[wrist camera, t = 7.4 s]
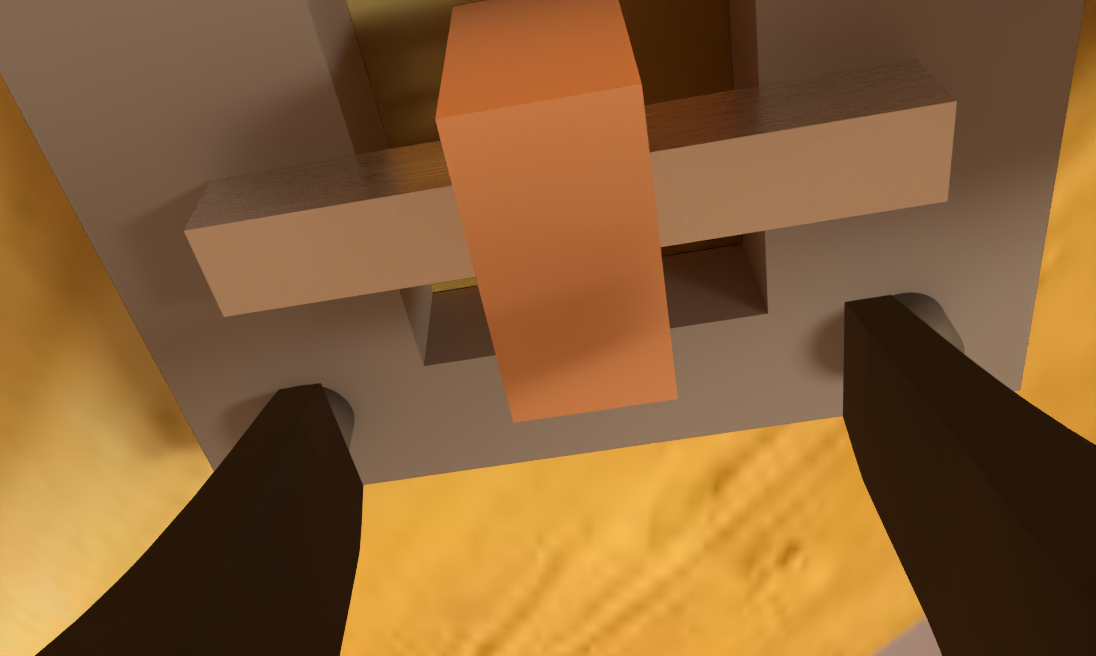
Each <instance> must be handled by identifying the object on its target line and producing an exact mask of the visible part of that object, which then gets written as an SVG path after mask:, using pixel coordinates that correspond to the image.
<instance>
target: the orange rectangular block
mask: <svg viewBox="0 0 1096 656" xmlns="http://www.w3.org/2000/svg"><path fill="white" fill-rule="evenodd" d="M435 121H436V125H437V128H438V132H439V136H440V140H441V144H442V148H443V152H444V156H445V160H446V163H447V167H448V171H449V175H450V179H451V183H452V187H453V191H454V195H455V198H456V202H457V206H458V210H459V214H460V218H461V222H462V226H463V230H464V233H465V237H466V241H467V245H468V249H469V253H470V257H471V261H472V264H473V268H474V272H475V276H476V280H477V284H478V288H479V292H480V296H481V299H482V303H483V307H484V311H485V315H486V319H487V323H488V327H489V331H490V334H491V338H492V342H493V346H494V350H495V354H496V358H497V362H498V365H499V369H500V373H501V377H502V381H503V385H504V389H505V393H506V397H507V400H508V404H509V408H510V412H511V416H512V420H513V423H517V422H523V421H530V420H537V419H544V418H551V417H558V416H565V415H572V414H579V413H585V412H592V411H599V410H606V409H613V408H620V407H627V406H634V405H640V404H647V403H654V402H661V401H668V400H675V399H678V395H677V386H676V378H675V369H674V360H673V351H672V343H671V334H670V325H669V317H668V308H667V299H666V290H665V282H664V273H663V264H662V256H661V247H660V238H659V230H658V221H657V212H656V203H655V195H654V186H653V177H652V169H651V160H650V151H649V142H648V134H647V125H646V116H645V108H644V99H643V90H642V83H641V79H640V76H639V72H638V68H637V65H636V61H635V58H634V54H633V50H632V47H631V43H630V39H629V36H628V32H627V29H626V25H625V21H624V18H623V14H622V10H621V7H620V3H619V0H486V1H481V2H475V3H470V4H464V5H458V6H453V9H452V16H451V22H450V28H449V35H448V41H447V47H446V54H445V60H444V66H443V73H442V79H441V85H440V92H439V98H438V104H437V111H436V117H435Z"/></svg>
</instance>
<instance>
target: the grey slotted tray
mask: <svg viewBox="0 0 1096 656" xmlns="http://www.w3.org/2000/svg"><path fill="white" fill-rule="evenodd" d="M1084 4H1085V0H729V11H730V29H731V47H732V64H733V82H734V90H730V91H725V92H719V93H713V94H707V95H701V96H696V97H690V98H684V99H678V100H672V101H666V102H661V103H655V104H649V105H644V108H645V116H646V125H647V134H648V142H649V151H650V160H651V169H652V177H653V186H654V195H655V203H656V212H657V221H658V230H659V238H660V247H665V246H671V245H677V244H684V243H690V242H696V241H702V240H709V239H715V238H721V237H727V236H734V235H740V234H742V240H743V244H739V245H733V246H727V247H721V248H714V249H708V250H702V251H695V252H689V253H683V254H676V255H670V256H664V257H662V264H663V273H664V282H665V290H666V299H667V308H668V317H669V325H670V334H671V343H672V351H673V360H674V369H675V378H676V386H677V395H678V399H675V400H668V401H661V402H654V403H647V404H640V405H634V406H627V407H620V408H613V409H606V410H599V411H592V412H585V413H579V414H572V415H565V416H558V417H551V418H544V419H537V420H530V421H523V422H517V423H513V420H512V416H511V412H510V408H509V404H508V400H507V397H506V393H505V389H504V385H503V381H502V377H501V373H500V369H499V365H498V362H497V358H496V354H495V350H494V346H493V342H492V338H491V334H490V331H489V327H488V323H487V319H486V315H485V311H484V307H483V303H482V299H481V296H480V292H479V288H478V286H475V287H469V288H463V289H456V290H450V291H444V292H438V293H432V290H431V286H430V284H433V283H440V282H446V281H452V280H458V279H465V278H471V277H476V276H475V272H474V268H473V264H472V261H471V257H470V253H469V249H468V245H467V241H466V237H465V233H464V230H463V226H462V222H461V218H460V214H459V210H458V206H457V202H456V198H455V195H454V191H453V187H452V183H451V179H450V175H449V171H448V167H447V163H446V160H445V156H444V152H443V148H442V144H441V140H439V141H434V142H428V143H422V144H416V145H410V146H404V147H399V148H393V149H390V148H389V145H388V141H387V138H386V135H385V131H384V128H383V125H382V121H381V118H380V115H379V111H378V108H377V104H376V101H375V98H374V94H373V91H372V88H371V84H370V81H369V77H368V74H367V71H366V67H365V64H364V61H363V57H362V54H361V51H360V47H359V44H358V40H357V37H356V34H355V30H354V27H353V24H352V20H351V17H350V13H349V10H348V7H347V3H346V0H0V74H1V76H2V78H3V80H4V82H5V84H6V85H7V87H8V89H9V91H10V93H11V95H12V97H13V98H14V100H15V102H16V104H17V106H18V108H19V110H20V111H21V113H22V115H23V117H24V119H25V121H26V123H27V124H28V126H29V128H30V130H31V132H32V134H33V136H34V137H35V139H36V141H37V143H38V145H39V147H40V149H41V150H42V152H43V154H44V156H45V158H46V160H47V162H48V163H49V165H50V167H51V169H52V171H53V173H54V175H55V176H56V178H57V180H58V182H59V184H60V186H61V188H62V190H63V191H64V193H65V195H66V197H67V199H68V201H69V203H70V204H71V206H72V208H73V210H74V212H75V214H76V216H77V217H78V219H79V221H80V223H81V225H82V227H83V229H84V230H85V232H86V234H87V236H88V238H89V240H90V242H91V243H92V245H93V247H94V249H95V251H96V253H97V255H98V256H99V258H100V260H101V262H102V264H103V266H104V268H105V269H106V271H107V273H108V275H109V277H110V279H111V281H112V282H113V284H114V286H115V288H116V290H117V292H118V294H119V295H120V297H121V299H122V301H123V303H124V305H125V307H126V308H127V310H128V312H129V314H130V316H131V318H132V320H133V322H134V323H135V325H136V327H137V329H138V331H139V333H140V335H141V336H142V338H143V340H144V342H145V344H146V346H147V348H148V349H149V351H150V353H151V355H152V357H153V359H154V361H155V362H156V364H157V366H158V368H159V370H160V372H161V374H162V375H163V377H164V379H165V381H166V383H167V385H168V387H169V388H170V390H171V392H172V394H173V396H174V398H175V400H176V401H177V403H178V405H179V407H180V409H181V411H182V413H183V414H184V416H185V418H186V420H187V422H188V424H189V426H190V427H191V429H192V431H193V433H194V435H195V437H196V439H197V440H198V442H199V444H200V446H201V448H202V450H203V452H204V453H205V455H206V457H207V459H208V461H209V463H210V465H211V467H212V468H213V470H214V471H215V470H216V469H217V467H218V466H219V465H220V464H221V462H222V461H223V460H224V459H225V457H226V456H227V455H228V454H229V452H230V451H231V450H232V448H233V447H234V446H235V445H236V443H237V442H238V441H239V439H240V438H241V437H242V435H243V434H244V433H245V432H246V430H247V429H248V428H249V426H250V425H251V424H252V422H253V421H254V420H255V419H256V417H257V416H258V415H259V413H260V412H261V411H262V410H263V408H264V407H265V406H266V404H267V403H268V402H269V401H270V399H271V398H272V397H273V396H274V395H275V393H276V392H277V391H278V390H279V389H285V388H291V387H297V386H304V385H310V384H317V383H321V385H322V387H323V389H324V392H325V394H326V397H327V399H328V401H329V404H330V406H331V409H332V411H333V413H334V416H335V418H336V421H337V423H338V425H339V428H340V430H341V433H342V435H343V438H344V440H345V442H346V445H347V447H348V450H349V452H350V454H351V457H352V459H353V462H354V464H355V466H356V469H357V471H358V474H359V476H360V479H361V481H362V483H363V485H366V484H373V483H380V482H387V481H394V480H401V479H408V478H415V477H422V476H429V475H436V474H443V473H449V472H456V471H463V470H470V469H477V468H484V467H491V466H498V465H505V464H512V463H519V462H526V461H533V460H540V459H547V458H554V457H561V456H568V455H575V454H582V453H589V452H595V451H602V450H609V449H616V448H623V447H630V446H637V445H644V444H651V443H658V442H665V441H672V440H679V439H686V438H693V437H700V436H707V435H714V434H721V433H728V432H735V431H742V430H748V429H755V428H762V427H769V426H776V425H783V424H790V423H797V422H804V421H811V420H818V419H825V418H832V417H839V416H843V368H844V304H845V302H847V301H853V300H860V299H866V298H873V297H879V296H886V295H892V296H894V297H895V298H896V299H897V300H899V301H900V302H901V303H902V304H904V305H905V306H906V307H907V308H909V309H910V310H911V311H912V312H913V313H915V314H916V315H917V316H918V317H920V318H921V319H922V320H923V321H924V322H926V323H927V324H928V325H929V326H930V327H932V328H933V329H934V330H935V331H936V332H938V333H939V334H940V335H941V336H943V337H944V338H945V339H946V340H947V341H949V342H950V343H951V344H952V345H954V346H955V347H956V348H957V349H959V350H960V351H961V352H962V353H964V354H965V355H966V356H967V357H969V358H970V359H971V360H973V361H974V362H975V363H976V364H978V365H979V366H980V367H982V368H983V369H984V370H986V371H987V372H988V373H990V374H991V375H992V376H994V377H995V378H996V379H998V380H999V381H1000V382H1002V383H1003V384H1004V385H1006V386H1007V387H1008V388H1010V389H1011V390H1012V391H1020V389H1021V383H1022V377H1023V371H1024V365H1025V359H1026V353H1027V347H1028V341H1029V335H1030V329H1031V323H1032V317H1033V311H1034V305H1035V299H1036V293H1037V287H1038V281H1039V275H1040V269H1041V263H1042V257H1043V251H1044V245H1045V239H1046V233H1047V227H1048V221H1049V215H1050V209H1051V203H1052V197H1053V191H1054V185H1055V179H1056V173H1057V167H1058V161H1059V155H1060V149H1061V143H1062V137H1063V130H1064V124H1065V118H1066V112H1067V106H1068V100H1069V94H1070V88H1071V82H1072V76H1073V70H1074V64H1075V58H1076V52H1077V46H1078V40H1079V34H1080V28H1081V22H1082V16H1083V10H1084Z"/></svg>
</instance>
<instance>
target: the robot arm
mask: <svg viewBox="0 0 1096 656" xmlns="http://www.w3.org/2000/svg"><path fill="white" fill-rule="evenodd" d="M843 418H844V421H845V425H846V428H847V431H848V434H849V438H850V441H851V444H852V448H853V451H854V454H855V457H856V460H857V463H858V466H859V469H860V472H861V475H862V478H863V481H864V483H865V486H866V488H867V490H868V492H869V495H870V497H871V499H872V501H873V503H874V505H875V508H876V510H877V512H878V514H879V516H880V519H881V521H882V523H883V525H884V527H885V529H886V532H887V534H888V536H889V538H890V540H891V542H892V544H893V547H894V549H895V551H896V553H897V555H898V557H899V559H900V562H901V564H902V566H903V568H904V570H905V572H906V574H907V576H908V579H909V581H910V583H911V585H912V587H913V589H914V591H915V594H916V596H917V598H918V600H919V602H920V604H921V606H922V609H923V611H924V613H925V615H926V617H927V619H928V622H929V624H930V626H931V629H932V631H933V634H934V636H935V638H936V641H937V643H938V646H939V648H940V651H941V654H942V656H1096V445H1095V444H1093V443H1091V442H1090V441H1088V440H1086V439H1085V438H1083V437H1081V436H1080V435H1078V434H1077V433H1075V432H1073V431H1072V430H1070V429H1068V428H1067V427H1065V426H1064V425H1062V424H1061V423H1059V422H1058V421H1056V420H1055V419H1053V418H1052V417H1050V416H1049V415H1047V414H1046V413H1044V412H1043V411H1041V410H1040V409H1038V408H1037V407H1035V406H1034V405H1032V404H1031V403H1029V402H1028V401H1026V400H1025V399H1024V398H1022V397H1021V396H1019V395H1018V394H1017V393H1015V392H1014V391H1012V390H1011V389H1010V388H1008V387H1007V386H1006V385H1004V384H1003V383H1002V382H1000V381H999V380H998V379H996V378H995V377H994V376H992V375H991V374H990V373H988V372H987V371H986V370H984V369H983V368H982V367H980V366H979V365H978V364H976V363H975V362H974V361H973V360H971V359H970V358H969V357H967V356H966V355H965V354H964V353H962V352H961V351H960V350H959V349H957V348H956V347H955V346H954V345H952V344H951V343H950V342H949V341H947V340H946V339H945V338H944V337H943V336H941V335H940V334H939V333H938V332H936V331H935V330H934V329H933V328H932V327H930V326H929V325H928V324H927V323H926V322H924V321H923V320H922V319H921V318H920V317H918V316H917V315H916V314H915V313H913V312H912V311H911V310H910V309H909V308H907V307H906V306H905V305H904V304H902V303H901V302H900V301H899V300H897V299H896V298H895V297H894V296H892V295H886V296H879V297H873V298H866V299H860V300H853V301H847V302H845V304H844V368H843ZM362 503H363V483H362V481H361V479H360V476H359V474H358V471H357V469H356V466H355V464H354V462H353V459H352V457H351V454H350V452H349V450H348V447H347V445H346V442H345V440H344V438H343V435H342V433H341V430H340V428H339V425H338V423H337V421H336V418H335V416H334V413H333V411H332V409H331V406H330V404H329V401H328V399H327V397H326V394H325V392H324V389H323V387H322V385H321V383H317V384H310V385H304V386H297V387H291V388H285V389H279V390H278V391H277V392H276V393H275V395H274V396H273V397H272V398H271V399H270V401H269V402H268V403H267V404H266V406H265V407H264V408H263V410H262V411H261V412H260V413H259V415H258V416H257V417H256V419H255V420H254V421H253V422H252V424H251V425H250V426H249V428H248V429H247V430H246V432H245V433H244V434H243V435H242V437H241V438H240V439H239V441H238V442H237V443H236V445H235V446H234V447H233V448H232V450H231V451H230V452H229V454H228V455H227V456H226V457H225V459H224V460H223V461H222V462H221V464H220V465H219V466H218V467H217V469H216V470H215V471H214V472H213V474H212V475H211V476H210V477H209V479H208V480H207V481H206V482H205V484H204V485H203V486H202V487H201V489H200V490H199V491H198V492H197V494H196V495H195V496H194V497H193V498H192V500H191V501H190V502H189V503H188V504H187V505H186V506H185V508H184V509H183V510H182V511H181V512H180V513H179V514H178V516H177V517H176V518H175V519H174V520H173V521H172V522H171V524H170V525H169V526H168V527H167V528H166V529H165V530H164V532H163V533H162V534H161V535H160V536H159V537H158V538H157V540H156V541H155V542H154V543H153V544H152V545H151V546H150V548H149V549H148V550H147V551H146V552H145V553H144V554H143V555H142V556H141V557H140V558H139V559H138V561H137V562H136V563H135V564H134V565H133V566H132V567H131V568H130V569H129V570H128V571H127V572H126V573H125V574H124V575H123V576H122V577H121V578H120V579H119V580H118V581H117V582H116V583H115V584H114V585H113V586H112V587H111V588H110V589H109V590H108V591H107V592H106V593H105V594H104V595H103V596H102V597H101V598H100V599H98V600H97V601H96V602H95V603H94V604H93V605H92V606H91V607H90V608H89V609H88V610H87V611H86V612H85V613H84V614H83V615H82V616H81V617H79V618H78V619H77V620H76V621H75V622H74V623H73V624H72V625H70V626H69V627H68V628H67V629H66V630H65V631H63V632H62V633H61V634H60V635H59V636H58V637H56V638H55V639H54V640H53V641H52V642H50V643H49V644H48V645H47V646H46V647H45V648H43V649H42V650H41V651H40V652H39V653H38V654H36V655H35V656H340V651H341V646H342V641H343V636H344V630H345V625H346V620H347V615H348V610H349V605H350V600H351V595H352V589H353V584H354V579H355V574H356V568H357V563H358V557H359V551H360V539H361V524H362Z"/></svg>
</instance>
